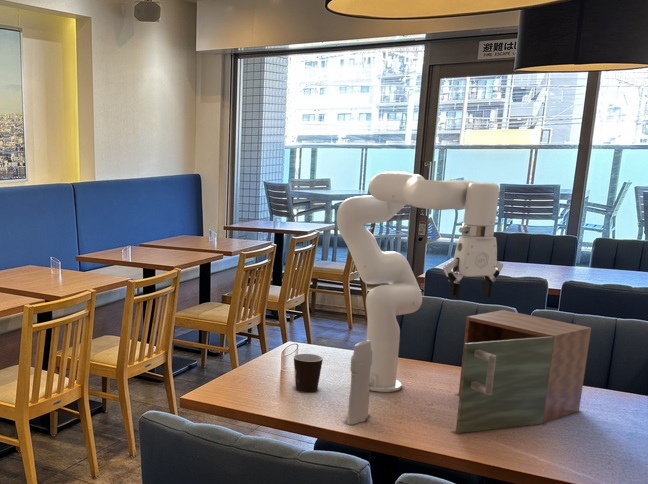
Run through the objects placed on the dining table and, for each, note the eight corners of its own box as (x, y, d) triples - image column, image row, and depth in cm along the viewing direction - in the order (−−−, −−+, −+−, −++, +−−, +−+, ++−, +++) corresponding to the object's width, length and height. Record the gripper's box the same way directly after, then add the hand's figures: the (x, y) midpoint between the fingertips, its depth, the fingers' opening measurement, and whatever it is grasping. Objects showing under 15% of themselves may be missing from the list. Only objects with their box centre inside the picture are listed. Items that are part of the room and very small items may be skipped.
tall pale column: (354, 426, 190) (360, 346, 184) (340, 422, 192) (345, 343, 187) (374, 416, 197) (379, 338, 192) (360, 412, 200) (365, 335, 194)
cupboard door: (561, 432, 185) (574, 343, 179) (474, 442, 179) (485, 350, 173) (539, 422, 192) (551, 336, 186) (455, 431, 186) (464, 343, 180)
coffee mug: (315, 395, 214) (317, 363, 211) (288, 390, 218) (289, 359, 216) (328, 384, 223) (329, 354, 221) (301, 380, 228) (303, 350, 225)
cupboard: (542, 422, 192) (554, 335, 186) (458, 395, 214) (466, 316, 208) (579, 411, 200) (591, 327, 194) (494, 385, 222) (503, 309, 216)
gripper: (458, 234, 179) (450, 301, 184) (516, 232, 183) (507, 298, 188) (439, 230, 186) (432, 295, 191) (496, 228, 190) (487, 292, 195)
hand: (469, 296), depth 189 cm, fingers open, 9 cm apart
